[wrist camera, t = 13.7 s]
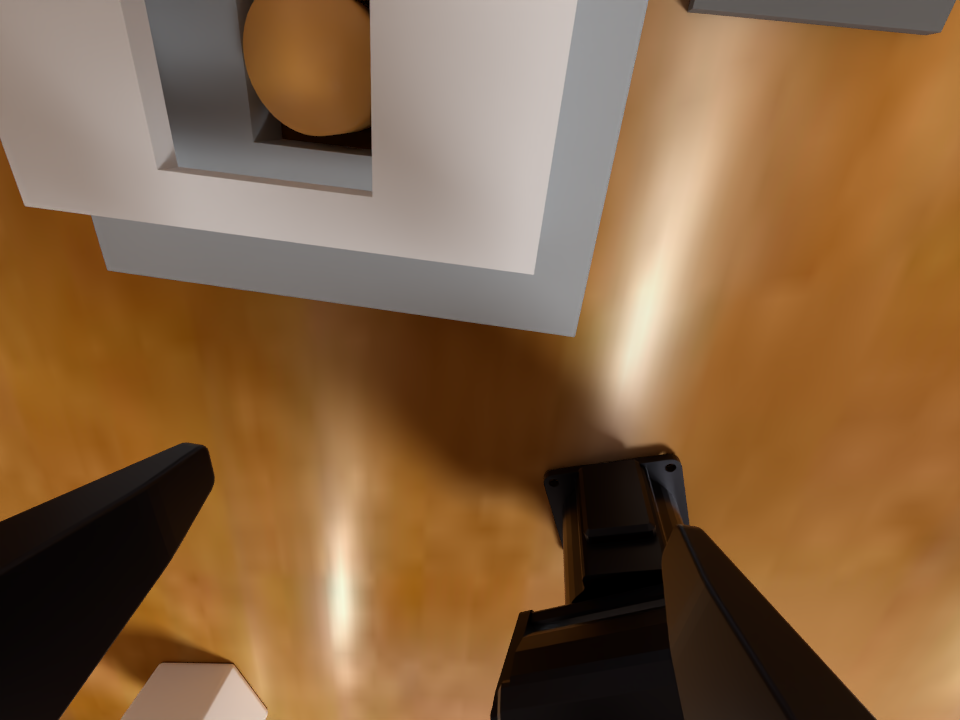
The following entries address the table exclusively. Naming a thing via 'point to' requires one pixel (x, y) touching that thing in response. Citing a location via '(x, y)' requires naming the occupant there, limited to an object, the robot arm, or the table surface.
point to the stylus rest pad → (839, 13)
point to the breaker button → (311, 63)
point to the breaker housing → (332, 151)
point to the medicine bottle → (196, 694)
